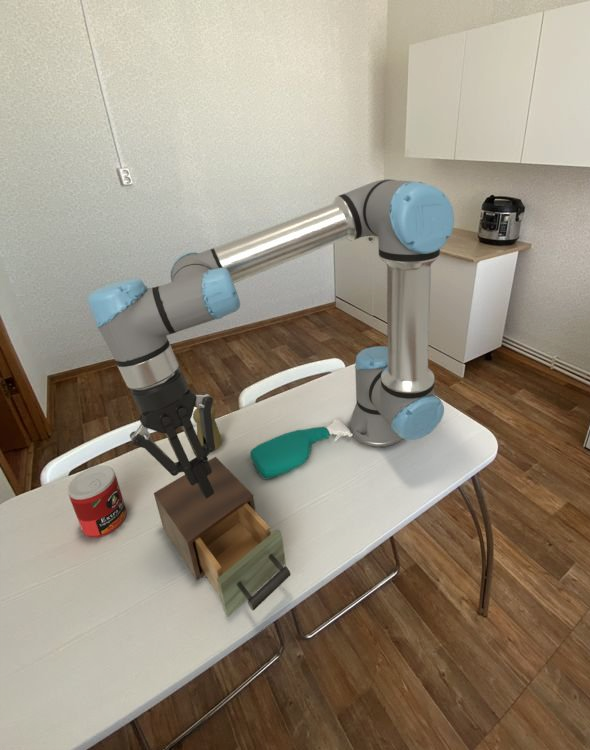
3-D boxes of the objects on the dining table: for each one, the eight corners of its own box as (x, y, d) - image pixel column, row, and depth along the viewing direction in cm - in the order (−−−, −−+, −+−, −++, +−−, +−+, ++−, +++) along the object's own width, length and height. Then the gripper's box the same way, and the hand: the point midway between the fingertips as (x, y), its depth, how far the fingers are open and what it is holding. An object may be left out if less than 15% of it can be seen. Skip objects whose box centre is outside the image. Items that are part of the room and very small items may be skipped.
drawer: (303, 583, 65) (300, 551, 63) (244, 642, 57) (237, 609, 55) (245, 518, 77) (240, 489, 74) (189, 560, 69) (181, 529, 67)
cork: (227, 439, 100) (221, 404, 96) (210, 455, 95) (202, 419, 91) (210, 433, 102) (203, 398, 98) (192, 448, 97) (184, 412, 93)
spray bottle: (248, 456, 94) (334, 419, 107) (264, 485, 86) (356, 442, 99) (247, 446, 93) (334, 410, 106) (263, 475, 85) (355, 432, 98)
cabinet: (258, 531, 75) (253, 494, 72) (196, 581, 67) (187, 542, 63) (221, 490, 85) (215, 456, 81) (163, 529, 76) (153, 493, 73)
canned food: (106, 542, 74) (92, 500, 70) (72, 535, 75) (55, 493, 71) (136, 508, 81) (124, 468, 77) (104, 502, 82) (90, 462, 78)
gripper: (188, 352, 66) (233, 459, 74) (104, 392, 58) (164, 506, 66) (203, 363, 60) (250, 477, 68) (113, 408, 53) (176, 531, 60)
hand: (207, 492), depth 67 cm, fingers closed
